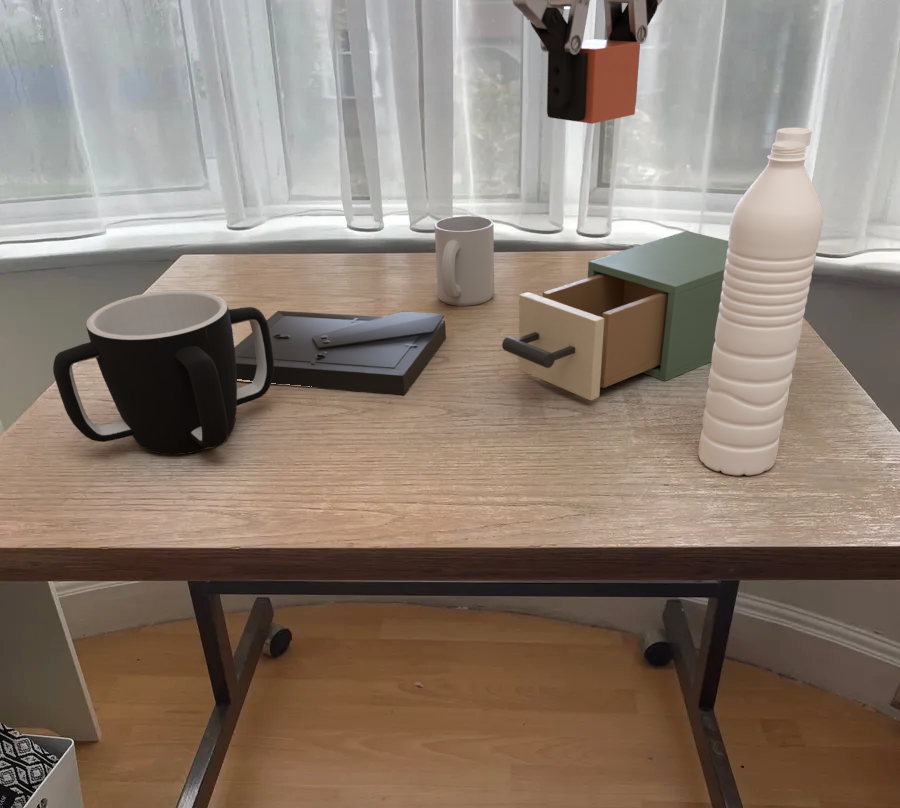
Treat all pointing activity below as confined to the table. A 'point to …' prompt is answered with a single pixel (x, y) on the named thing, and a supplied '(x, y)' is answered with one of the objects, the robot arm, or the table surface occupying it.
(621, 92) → the block
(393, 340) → the picture frame
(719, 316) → the water bottle
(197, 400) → the mug
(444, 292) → the cup
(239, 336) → the table surface
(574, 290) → the drawer
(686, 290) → the cabinet
